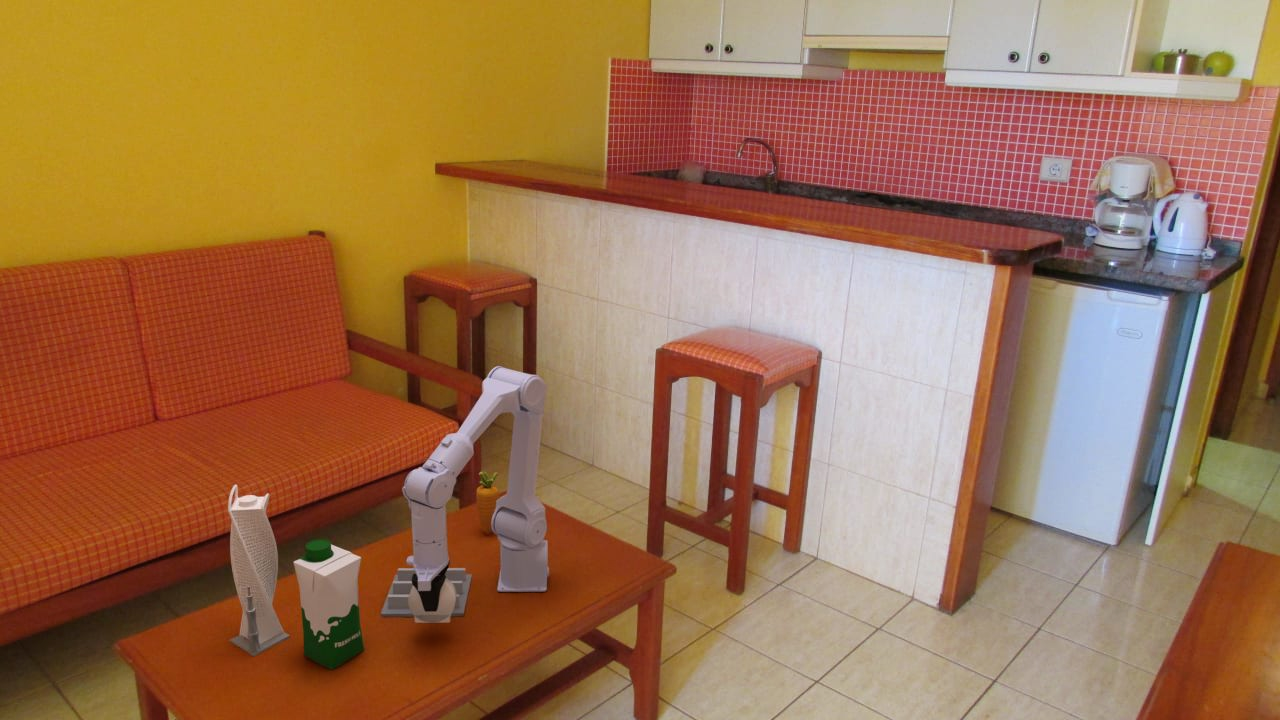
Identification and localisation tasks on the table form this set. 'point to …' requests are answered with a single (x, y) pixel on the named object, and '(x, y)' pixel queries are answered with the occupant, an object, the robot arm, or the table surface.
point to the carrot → (486, 500)
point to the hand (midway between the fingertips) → (432, 605)
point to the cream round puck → (444, 606)
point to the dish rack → (403, 584)
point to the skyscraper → (254, 573)
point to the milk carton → (329, 603)
